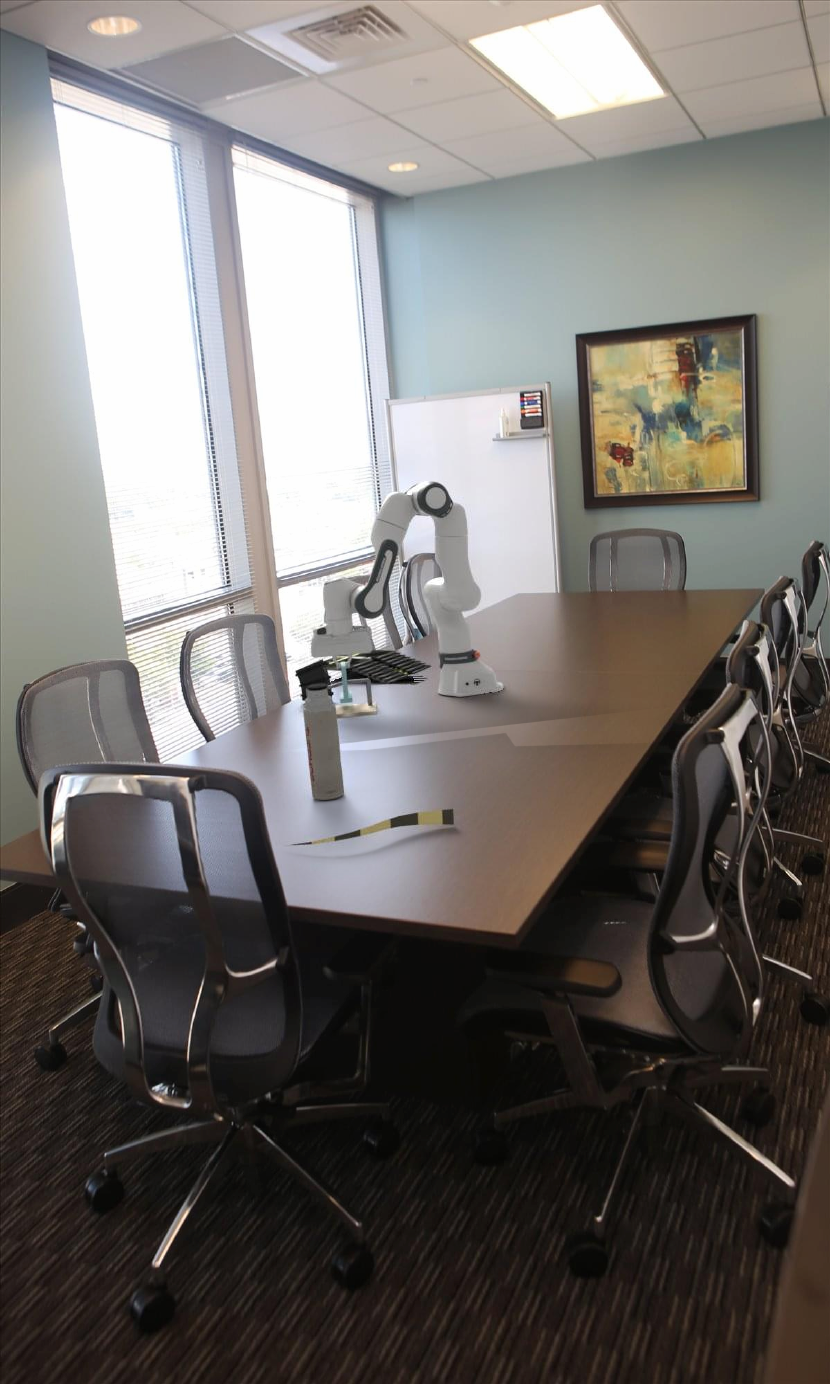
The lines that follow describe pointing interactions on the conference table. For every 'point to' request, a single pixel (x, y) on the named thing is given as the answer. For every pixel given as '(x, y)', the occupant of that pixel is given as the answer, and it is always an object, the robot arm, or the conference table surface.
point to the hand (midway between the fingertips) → (343, 668)
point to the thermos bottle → (323, 744)
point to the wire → (368, 682)
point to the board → (355, 710)
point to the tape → (397, 824)
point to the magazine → (313, 677)
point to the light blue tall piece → (345, 686)
